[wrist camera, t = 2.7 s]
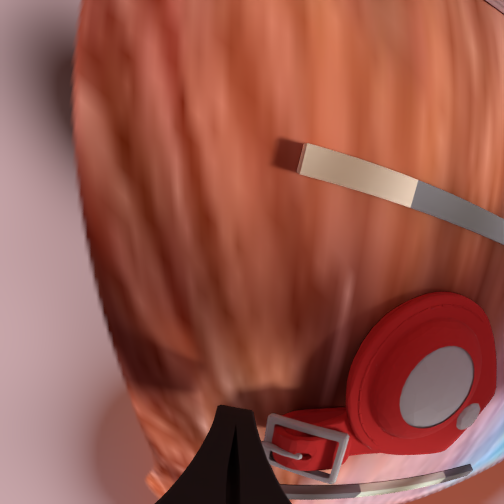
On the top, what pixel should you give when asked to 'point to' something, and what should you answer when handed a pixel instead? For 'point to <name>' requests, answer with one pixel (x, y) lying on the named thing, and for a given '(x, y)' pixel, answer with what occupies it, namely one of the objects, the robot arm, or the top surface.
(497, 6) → the ink box
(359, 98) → the top surface
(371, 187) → the track
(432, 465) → the top surface
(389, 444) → the tracker holder
